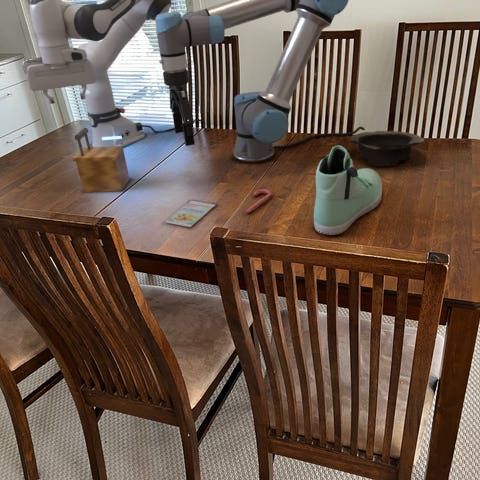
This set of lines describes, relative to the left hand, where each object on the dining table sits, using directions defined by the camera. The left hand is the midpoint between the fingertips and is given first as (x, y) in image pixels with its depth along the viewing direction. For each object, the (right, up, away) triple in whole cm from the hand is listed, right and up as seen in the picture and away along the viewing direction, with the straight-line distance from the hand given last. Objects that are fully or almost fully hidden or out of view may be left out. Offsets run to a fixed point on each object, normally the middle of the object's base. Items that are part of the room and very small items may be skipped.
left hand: (68, 101), depth 152 cm
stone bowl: (+106, -15, +17) cm, 108 cm away
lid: (+8, -16, +7) cm, 19 cm away
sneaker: (+86, -35, -13) cm, 94 cm away
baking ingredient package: (+40, -37, -10) cm, 55 cm away
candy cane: (+60, -33, -7) cm, 69 cm away
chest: (+9, -25, +13) cm, 30 cm away
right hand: (+37, -12, +1) cm, 39 cm away
